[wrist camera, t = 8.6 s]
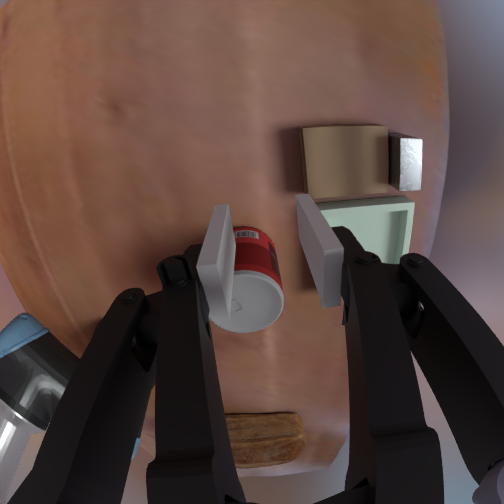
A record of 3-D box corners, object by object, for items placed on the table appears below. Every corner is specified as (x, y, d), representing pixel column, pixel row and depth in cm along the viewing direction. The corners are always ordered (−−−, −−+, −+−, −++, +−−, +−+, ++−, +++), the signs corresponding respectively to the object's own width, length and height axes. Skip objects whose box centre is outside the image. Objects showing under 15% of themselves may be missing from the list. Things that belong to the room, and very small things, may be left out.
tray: (316, 288, 39) (320, 299, 37) (315, 203, 33) (319, 210, 30) (395, 275, 38) (402, 285, 36) (405, 195, 32) (414, 202, 30)
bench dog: (381, 179, 31) (399, 191, 27) (380, 132, 28) (400, 138, 24) (400, 178, 31) (420, 190, 26) (400, 133, 28) (421, 139, 24)
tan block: (303, 191, 32) (308, 199, 30) (297, 126, 28) (302, 128, 26) (377, 185, 32) (388, 192, 29) (376, 124, 28) (387, 126, 25)
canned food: (202, 248, 36) (186, 301, 26) (250, 212, 33) (251, 258, 24) (239, 285, 39) (237, 343, 29) (286, 254, 36) (299, 309, 27)
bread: (178, 408, 58) (171, 455, 46) (304, 406, 57) (311, 454, 45) (189, 427, 64) (185, 468, 52) (300, 425, 63) (305, 467, 51)
